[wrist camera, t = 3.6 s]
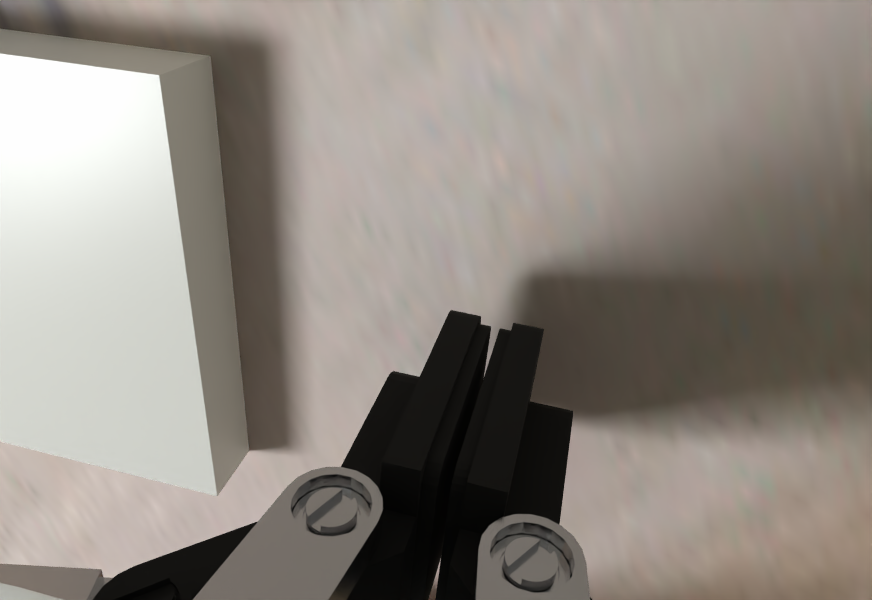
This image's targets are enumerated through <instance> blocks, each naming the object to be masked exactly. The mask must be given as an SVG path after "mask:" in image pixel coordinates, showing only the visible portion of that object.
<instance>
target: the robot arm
mask: <svg viewBox="0 0 872 600" xmlns="http://www.w3.org/2000/svg"><path fill="white" fill-rule="evenodd" d="M543 331H544V329H541V328H536V327H531V326H526V325H521V324H516V323H513V326H512V329H511V331H510V330H505V329H500V330H499V333H498V336H497V339H496V342H495V345H494V348H493V351H492V355H491V358H490V361H489V364H488V367H487V370H486V373H485V376H484V372H485V365H486V359H487V352H488V345H489V339H490V332H491V326H486V325H481V316H477V315H472V314H467V313H463V312H458V311H453V310H451V311H450V312H449V314H448V316H447V318H446V320H445V323H444V325H443V327H442V329H441V331H440V334H439V336H438V338H437V340H436V342H435V345H434V347H433V349H432V351H431V353H430V356H429V358H428V360H427V362H426V364H425V367H424V369H423V371H422V373H421V375H420V377H417V376H413V375H408V374H404V373H399V372H395V371H393V372H391V373H390V375H389V376H388V378H387V380H386V382H385V384H384V386H383V387H382V389H381V391H380V393H379V395H378V397H377V399H376V401H375V403H374V405H373V407H372V408H371V410H370V412H369V414H368V416H367V418H366V420H365V422H364V424H363V426H362V428H361V430H360V431H359V433H358V435H357V437H356V439H355V441H354V443H353V445H352V447H351V449H350V451H349V453H348V454H347V456H346V458H345V460H344V462H343V464H342V466H341V467H324V468H320V469H315V470H311V471H309V472H307V473H305V474H303V475H301V476H299V477H298V478H296V479H295V480H294V481H293V482H292V483H291V484H290V485H288V486H287V488H286V489H285V490H284V491H283V492H282V494H281V495H280V496H279V497H278V498H277V500H276V501H275V502H274V503H273V504H272V506H271V507H270V508H269V509H268V510H267V511H266V513H265V514H264V515H263V516H262V517H261V519H260V520H259V521H258V522H255V523H252V524H250V525H247V526H244V527H241V528H238V529H236V530H233V531H230V532H227V533H225V534H222V535H219V536H216V537H214V538H211V539H208V540H205V541H203V542H200V543H197V544H194V545H192V546H189V547H186V548H183V549H180V550H178V551H175V552H172V553H169V554H167V555H164V556H161V557H158V558H156V559H153V560H150V561H147V562H145V563H142V564H139V565H136V566H134V567H132V568H130V569H128V570H126V571H124V572H122V573H120V574H118V575H116V576H115V577H114V578H104V577H103V574H102V570H101V569H84V568H66V567H48V566H31V565H13V564H0V600H428V599H429V595H430V592H431V589H432V585H433V582H434V579H435V575H436V572H437V569H438V565H439V562H440V558H441V563H440V571H439V578H438V585H437V593H436V600H592V599H591V598H590V594H589V585H588V575H587V566H586V561H585V557H584V554H583V550H582V548H581V547H580V545H579V544H578V542H577V541H576V539H575V538H574V536H573V535H571V534H570V533H569V532H568V531H567V530H566V529H564V528H563V527H562V526H561V525H559V523H560V515H561V507H562V499H563V491H564V483H565V475H566V467H567V459H568V451H569V443H570V435H571V427H572V418H573V411H570V410H566V409H561V408H557V407H552V406H548V405H543V404H539V403H534V402H530V397H531V392H532V387H533V382H534V377H535V372H536V367H537V362H538V357H539V352H540V347H541V341H542V336H543ZM483 379H484V380H483ZM441 555H442V556H441Z"/></svg>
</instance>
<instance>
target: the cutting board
mask: <svg viewBox="0 0 872 600" xmlns="http://www.w3.org/2000/svg"><path fill="white" fill-rule="evenodd" d="M0 442H4V443H8V444H11V445H15V446H19V447H23V448H27V449H31V450H35V451H39V452H43V453H47V454H51V455H55V456H59V457H63V458H67V459H71V460H75V461H79V462H83V463H87V464H91V465H95V466H99V467H103V468H107V469H111V470H115V471H119V472H123V473H127V474H131V475H135V476H139V477H142V478H146V479H150V480H154V481H158V482H162V483H166V484H170V485H174V486H178V487H182V488H186V489H190V490H194V491H198V492H202V493H206V494H210V495H214V496H218V494H219V493H220V492H221V490H222V489H223V487H224V486H225V484H226V483H227V482H228V480H229V479H230V477H231V476H232V474H233V473H234V472H235V470H236V469H237V467H238V466H239V464H240V463H241V462H242V460H243V459H244V457H245V456H246V454H247V453H248V452H249V443H248V432H247V422H246V412H245V402H244V392H243V381H242V371H241V361H240V351H239V341H238V330H237V320H236V310H235V300H234V289H233V279H232V269H231V259H230V249H229V238H228V228H227V218H226V208H225V198H224V187H223V177H222V167H221V157H220V146H219V136H218V126H217V116H216V106H215V95H214V85H213V75H212V65H211V56H209V55H202V54H194V53H186V52H178V51H170V50H163V49H155V48H147V47H139V46H132V45H124V44H116V43H108V42H100V41H93V40H85V39H77V38H69V37H62V36H54V35H46V34H38V33H30V32H23V31H15V30H7V29H0Z"/></svg>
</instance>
